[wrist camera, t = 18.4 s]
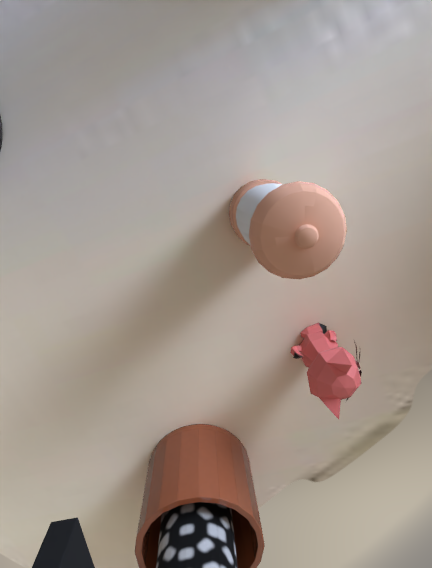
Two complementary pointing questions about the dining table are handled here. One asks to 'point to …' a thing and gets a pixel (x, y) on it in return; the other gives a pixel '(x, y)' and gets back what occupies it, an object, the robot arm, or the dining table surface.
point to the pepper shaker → (289, 226)
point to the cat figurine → (328, 366)
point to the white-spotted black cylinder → (197, 537)
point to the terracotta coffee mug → (200, 488)
